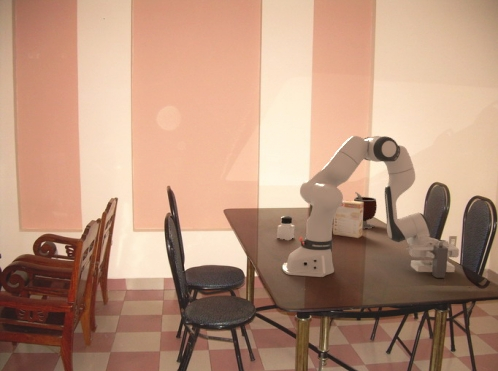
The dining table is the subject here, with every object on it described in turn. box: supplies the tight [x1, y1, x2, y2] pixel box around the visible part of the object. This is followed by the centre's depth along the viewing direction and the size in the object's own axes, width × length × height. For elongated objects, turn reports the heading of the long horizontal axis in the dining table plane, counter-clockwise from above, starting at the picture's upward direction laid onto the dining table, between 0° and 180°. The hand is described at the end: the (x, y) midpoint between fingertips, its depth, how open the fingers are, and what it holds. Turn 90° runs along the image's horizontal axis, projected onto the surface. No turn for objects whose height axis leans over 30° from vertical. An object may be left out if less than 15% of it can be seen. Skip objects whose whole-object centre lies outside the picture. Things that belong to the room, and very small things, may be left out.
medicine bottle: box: [276, 215, 296, 241], centre depth 263 cm, size 7×7×12 cm
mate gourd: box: [353, 191, 378, 229], centre depth 295 cm, size 16×14×20 cm
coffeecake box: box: [332, 199, 364, 239], centre depth 272 cm, size 15×7×20 cm, turn 59°
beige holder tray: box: [410, 260, 456, 273], centre depth 210 cm, size 16×8×4 cm, turn 92°
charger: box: [431, 242, 448, 278], centre depth 198 cm, size 4×5×14 cm
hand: (440, 256), depth 197 cm, fingers closed on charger, 4 cm apart
